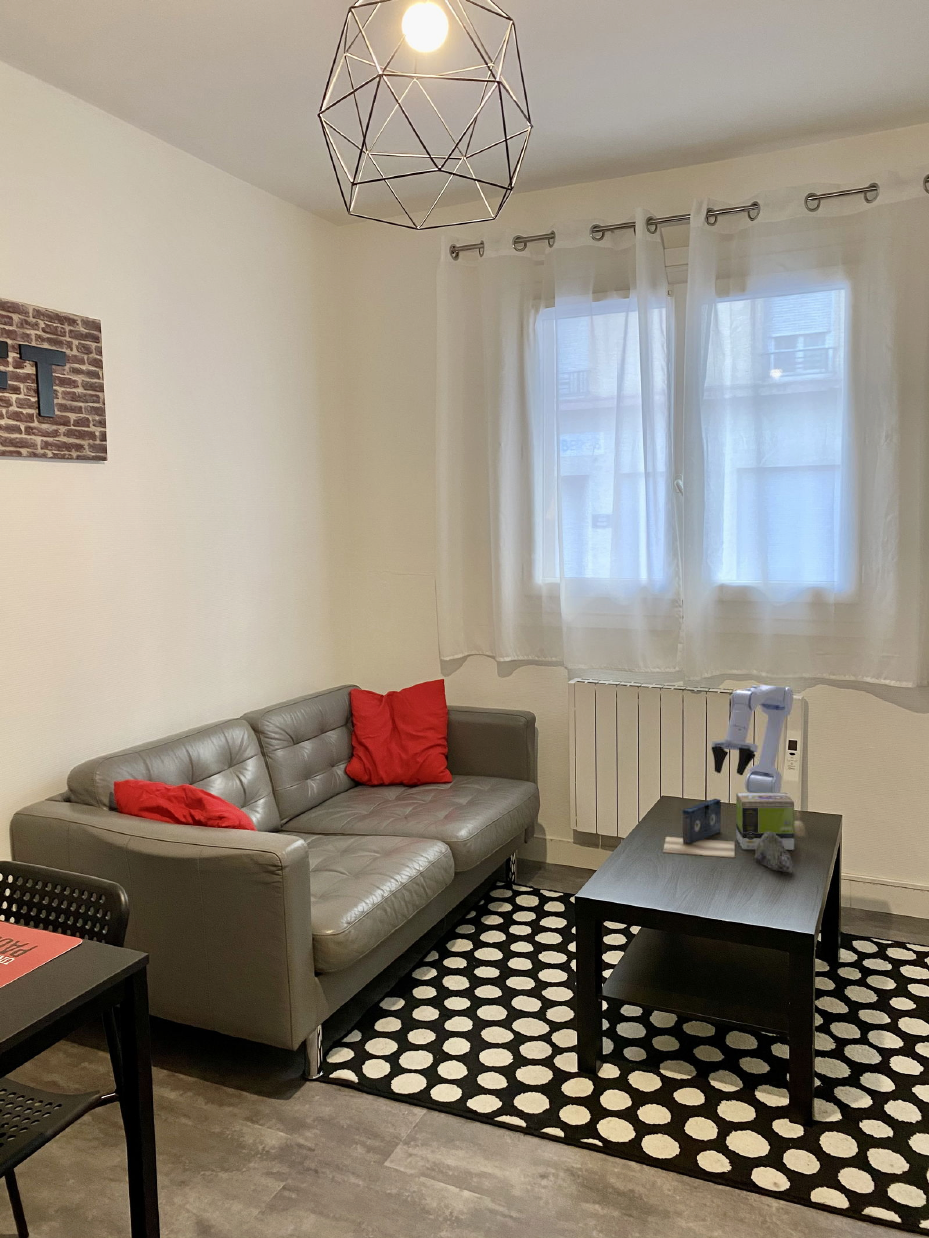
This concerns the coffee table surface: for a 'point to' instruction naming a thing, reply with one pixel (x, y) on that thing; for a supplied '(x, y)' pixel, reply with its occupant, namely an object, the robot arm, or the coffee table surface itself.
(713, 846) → the wooden board
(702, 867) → the coffee table surface
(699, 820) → the vhs cassette tape
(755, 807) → the tea box
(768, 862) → the mineral rock
